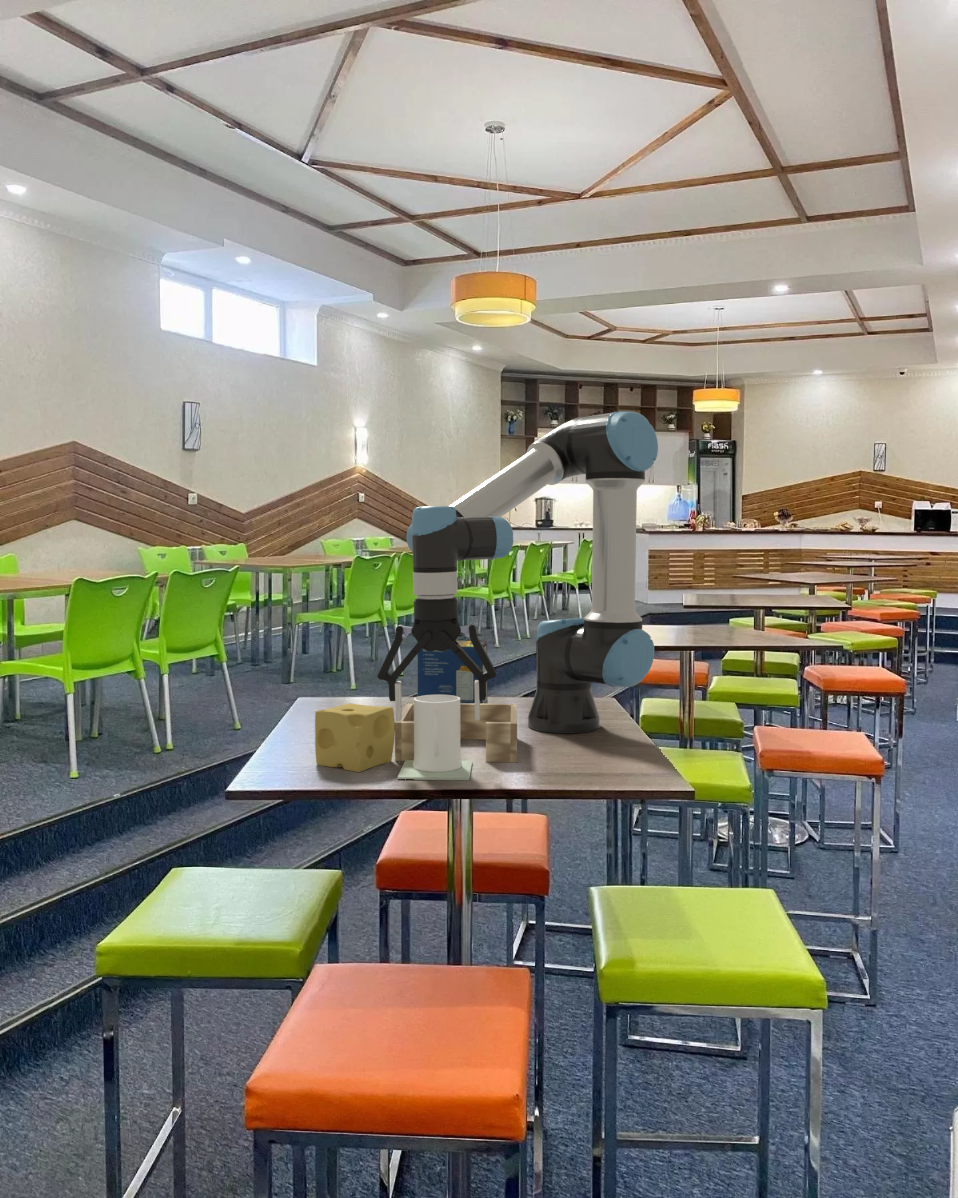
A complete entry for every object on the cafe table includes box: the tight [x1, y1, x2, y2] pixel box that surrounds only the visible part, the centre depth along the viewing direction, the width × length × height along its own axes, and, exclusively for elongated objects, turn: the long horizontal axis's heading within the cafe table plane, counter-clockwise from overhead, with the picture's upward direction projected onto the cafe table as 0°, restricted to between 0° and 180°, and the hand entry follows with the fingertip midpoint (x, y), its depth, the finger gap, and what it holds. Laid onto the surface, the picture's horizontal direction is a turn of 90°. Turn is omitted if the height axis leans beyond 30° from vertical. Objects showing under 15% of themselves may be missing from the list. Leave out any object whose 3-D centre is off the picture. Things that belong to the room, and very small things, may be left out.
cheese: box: [314, 703, 396, 773], centre depth 170 cm, size 10×11×10 cm
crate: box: [394, 702, 518, 763], centre depth 181 cm, size 22×20×7 cm
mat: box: [396, 760, 473, 781], centre depth 165 cm, size 12×12×1 cm
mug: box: [413, 695, 462, 772], centre depth 164 cm, size 12×8×12 cm
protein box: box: [416, 640, 489, 704], centre depth 224 cm, size 10×15×16 cm
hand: (438, 719), depth 165 cm, fingers open, 13 cm apart
